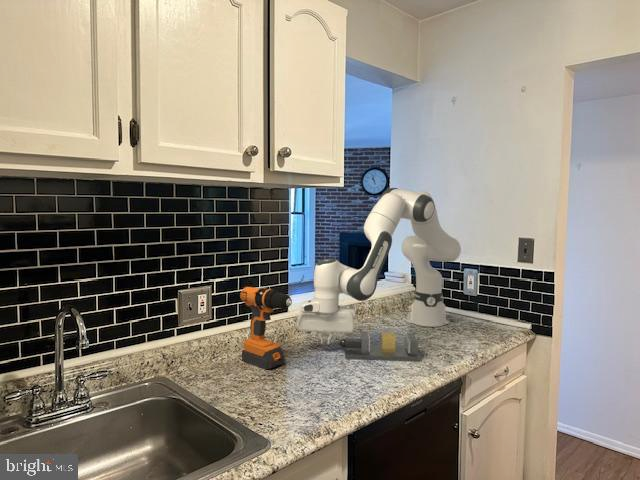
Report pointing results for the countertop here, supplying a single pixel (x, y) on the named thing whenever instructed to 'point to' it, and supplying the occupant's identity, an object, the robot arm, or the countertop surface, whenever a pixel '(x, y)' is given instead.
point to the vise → (376, 353)
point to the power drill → (262, 326)
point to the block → (388, 342)
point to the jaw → (358, 343)
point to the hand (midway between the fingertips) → (325, 343)
